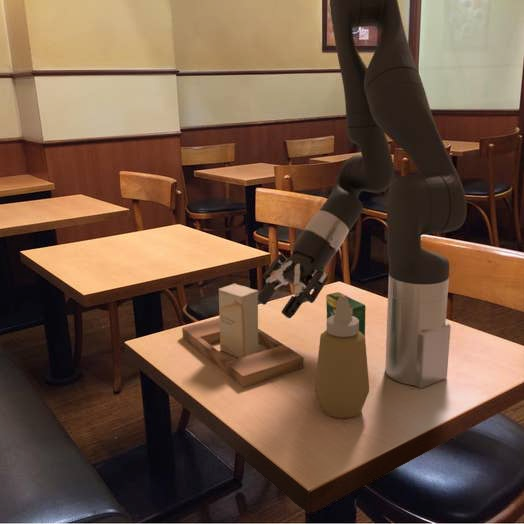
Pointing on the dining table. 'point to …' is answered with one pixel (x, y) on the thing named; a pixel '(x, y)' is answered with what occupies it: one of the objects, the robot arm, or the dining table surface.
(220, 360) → the wooden frame
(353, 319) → the squeeze bottle
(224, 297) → the skincare box
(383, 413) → the dining table surface
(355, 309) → the coffee box
